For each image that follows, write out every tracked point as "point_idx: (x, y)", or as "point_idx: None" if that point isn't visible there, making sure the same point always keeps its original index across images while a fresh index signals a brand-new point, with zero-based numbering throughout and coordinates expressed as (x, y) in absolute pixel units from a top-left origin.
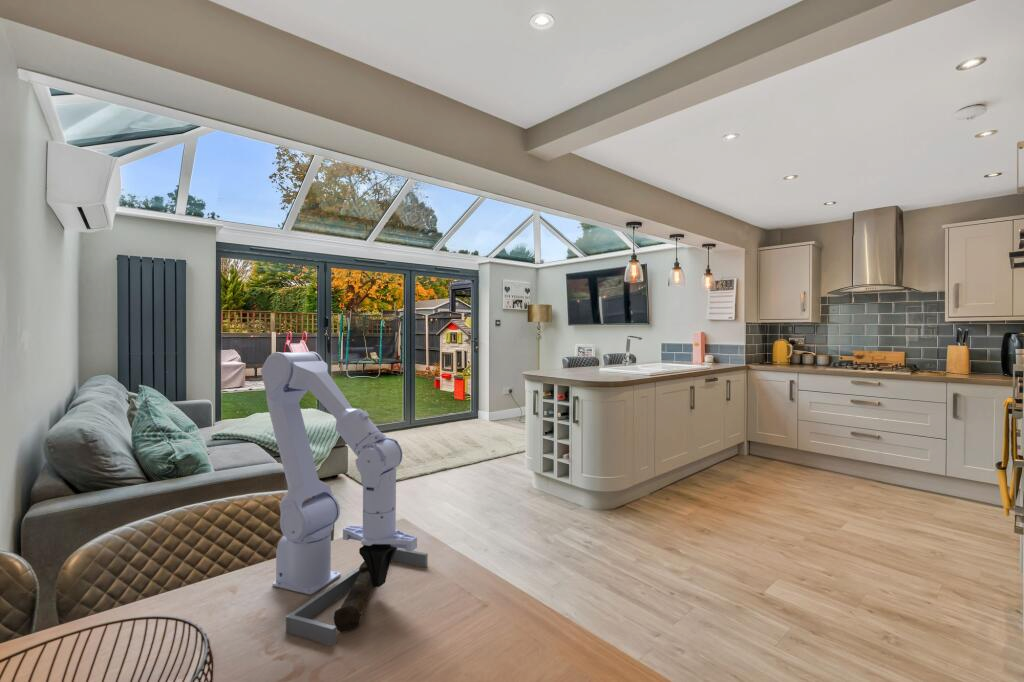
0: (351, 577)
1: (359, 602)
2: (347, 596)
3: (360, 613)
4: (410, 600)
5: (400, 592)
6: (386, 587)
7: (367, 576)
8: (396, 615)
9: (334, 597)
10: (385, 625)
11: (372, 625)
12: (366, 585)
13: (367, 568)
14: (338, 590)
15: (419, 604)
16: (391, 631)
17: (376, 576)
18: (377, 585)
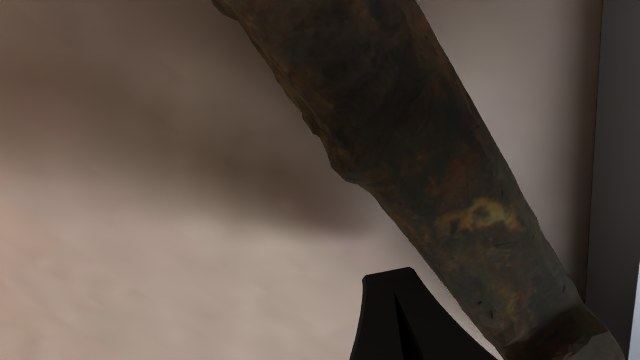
0: (630, 267)
1: (263, 48)
2: (414, 43)
3: (219, 6)
4: (214, 312)
5: (318, 330)
6: None
7: (480, 300)
8: (152, 189)
9: (611, 97)
10: (112, 89)
11: (176, 44)
12: (408, 231)
13: (543, 355)
14: (624, 142)
15: (145, 312)
16: (27, 66)
17: (377, 319)
18: (369, 280)
